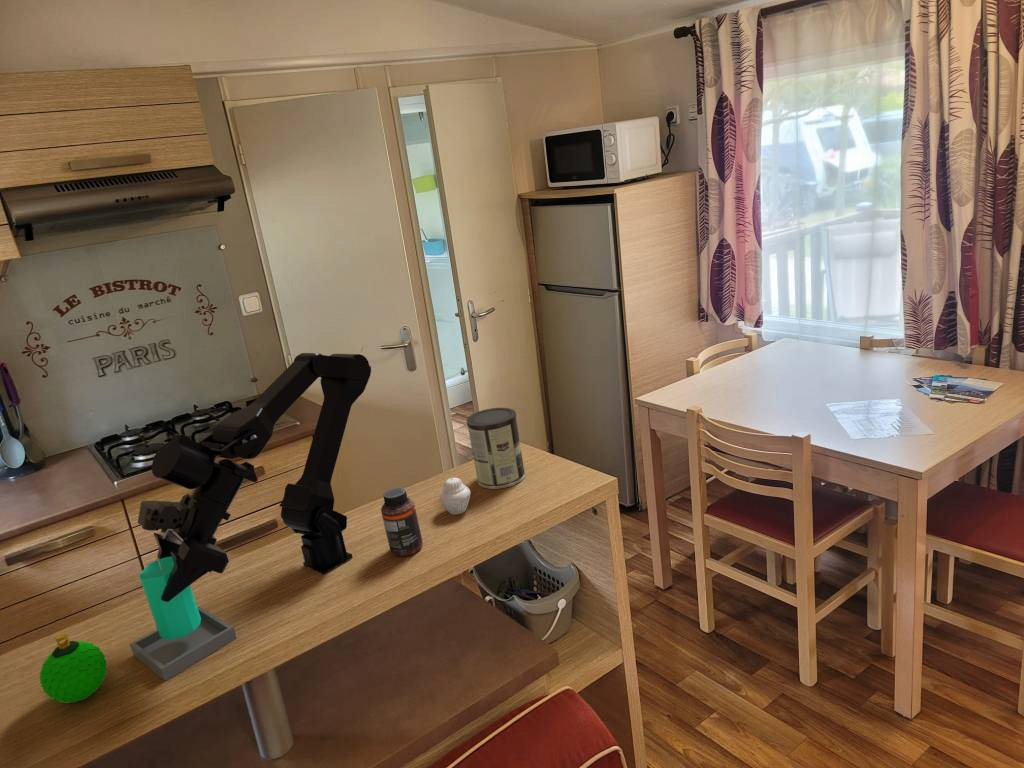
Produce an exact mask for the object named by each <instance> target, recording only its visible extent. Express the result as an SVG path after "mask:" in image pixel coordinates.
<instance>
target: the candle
mask: <svg viewBox="0 0 1024 768" xmlns="http://www.w3.org/2000/svg"><path fill="white" fill-rule="evenodd" d="M157 559H158V558H157V557H156V560H154V561H152V562H150V563H148V564H147V565H146V567H144V569H143V570H142V571H141V572H140V573H139V575H138V576H139V580H140V582H141V585H142V588H143V592H144V594H145V597H146V600H147V603H148V606H149V609H150V611H151V615H152V617H153V621H154V623H155V626H156V630H157V629H158V632H159V635H160V636H161V637H162V638H163V639H172V640H173V639H176V638H180V637H183V636H185V635H187V634H189V633H191V632H192V631H194V630H195V629H196V628H197V627H198V626H199V625H200V622H201V617H200V614H199V611H198V605H197V601H196V598H195V595H194V591H193V589H192V586H191V585H189V586H188V587H187V588H185V589H184V590H183V591H182V592H180V593H179V594H178V595H176V596H175V597H174V598H173V599H171V600H170V601H169V602H165V601H162V600H161V597H162V594H163V591H164V589H165V587H166V585H167V582H168V579H169V576H170V574H171V572H172V569H173V567H174V562H173V558H172V556H171V557H166V558H161V559H158V560H157Z"/></svg>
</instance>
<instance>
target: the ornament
mask: <svg viewBox="0 0 1024 768" xmlns="http://www.w3.org/2000/svg"><path fill="white" fill-rule="evenodd" d="M61 641H63V642H61ZM55 642H56V643H57V646H56V647H55V648H54V650H52V652H50V653H49V655H48V656H47V658H46V659H45V661H44V662H43V663H42V665H41V670H40V673H39V680H40V682H39V683H40V684H41V685H40V686H41V688H42V691H43V692H44V693H45V694H46V696H47V695H48V697H49V698H50V699H52V700H53V701H57V702H58V703H66V704H69V703H77V702H78V701H84V700H85V699H87V698H89V697H91V696H92V695H93V693H95V692H96V691H98V689H99V687H100V686H101V685H102V684H103V682H104V680H105V676H107V670H108V669H107V666H108V663H107V660H106V655H105V653H103V651H101V648H100V647H98V646H96V645H95V644H94V643H92V642H90V641H89V642H88V641H84V640H77V641H76V640H69V637H68V635H67V633H66V632H65V633H63V632H62V633H59V634H58V635H56V636H55Z"/></svg>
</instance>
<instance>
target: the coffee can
mask: <svg viewBox="0 0 1024 768" xmlns="http://www.w3.org/2000/svg"><path fill="white" fill-rule="evenodd" d="M465 421H466V425H467V429H468V433H469V434H468V435H469V439H470V441H469V442H470V444H471V451H472V456H473V462H474V467H475V472H476V473H475V474H476V478H477V483H478V486H480V487H481V488H483V489H489V490H490V489H491V490H498V489H499V490H500V489H506V488H509V487H513V486H515V485H517V484H519V483H520V482H522V481H523V480H524V479H525V478H526V472H525V467H524V466H525V465H524V460H523V455H522V453H523V452H522V448H521V447H522V446H521V441H520V437H519V435H520V434H519V430H518V429H519V428H518V424H517V412H516V410H515V409H512V408H508V407H491V408H486V409H482V410H480V411H477V412H473V413H472V414H470V415H469V416H468V417H467V418H466V420H465Z"/></svg>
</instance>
